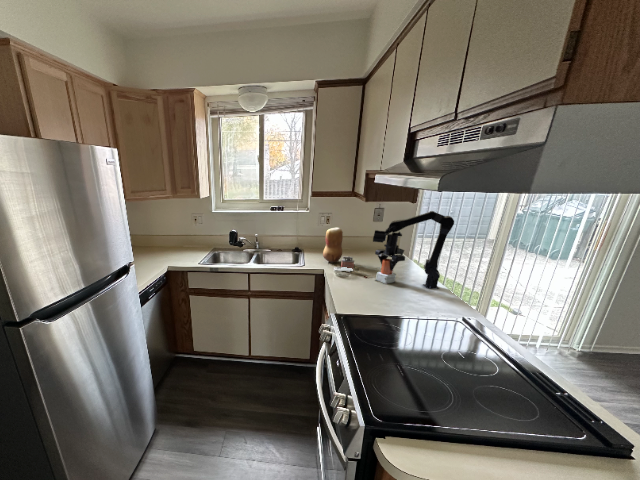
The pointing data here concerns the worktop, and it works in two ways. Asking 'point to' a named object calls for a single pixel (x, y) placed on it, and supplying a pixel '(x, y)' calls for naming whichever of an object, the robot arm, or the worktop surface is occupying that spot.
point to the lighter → (348, 262)
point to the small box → (385, 277)
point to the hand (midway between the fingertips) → (387, 269)
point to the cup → (386, 267)
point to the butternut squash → (333, 245)
